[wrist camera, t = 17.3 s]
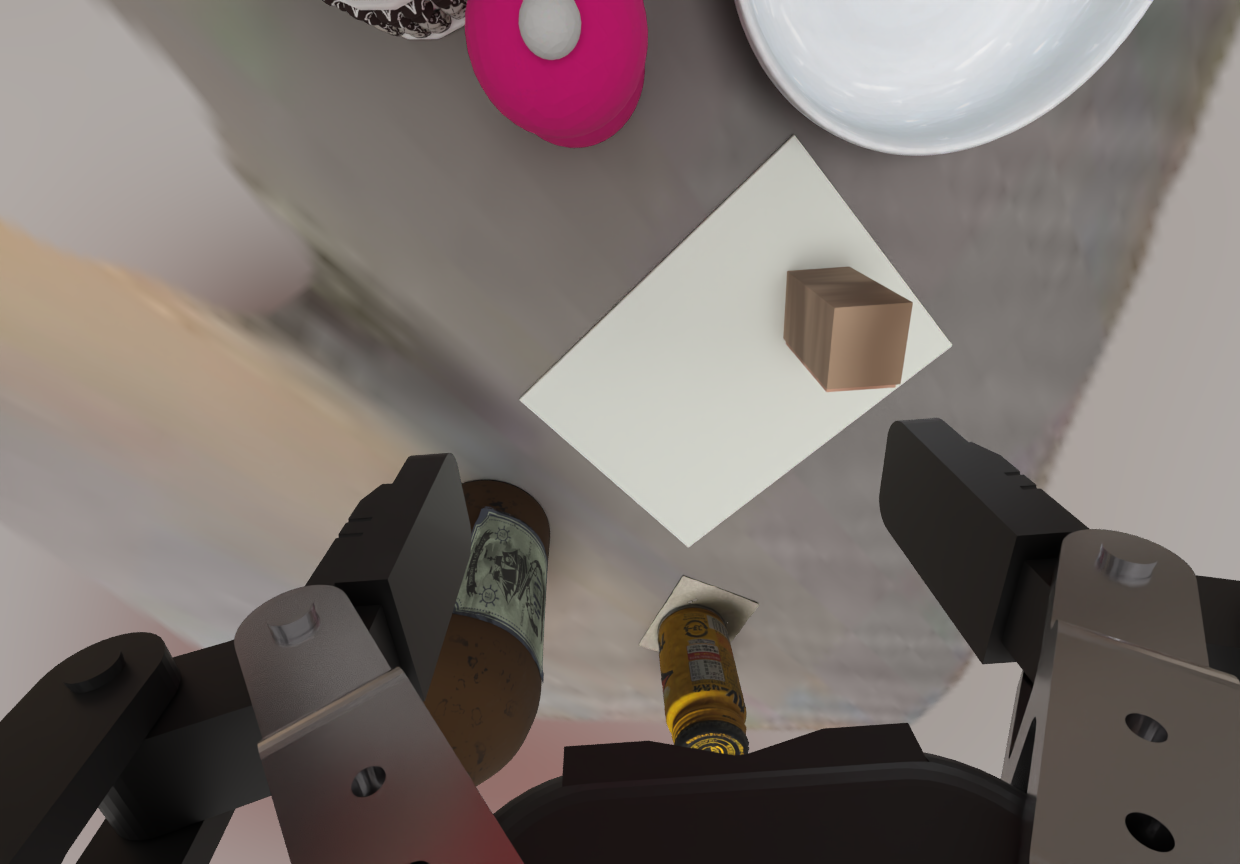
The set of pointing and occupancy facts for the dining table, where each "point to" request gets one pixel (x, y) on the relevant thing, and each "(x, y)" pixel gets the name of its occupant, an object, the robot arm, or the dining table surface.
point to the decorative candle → (408, 16)
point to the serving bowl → (932, 63)
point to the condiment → (701, 666)
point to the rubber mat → (721, 355)
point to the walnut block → (846, 328)
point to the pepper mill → (560, 64)
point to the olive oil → (494, 632)
